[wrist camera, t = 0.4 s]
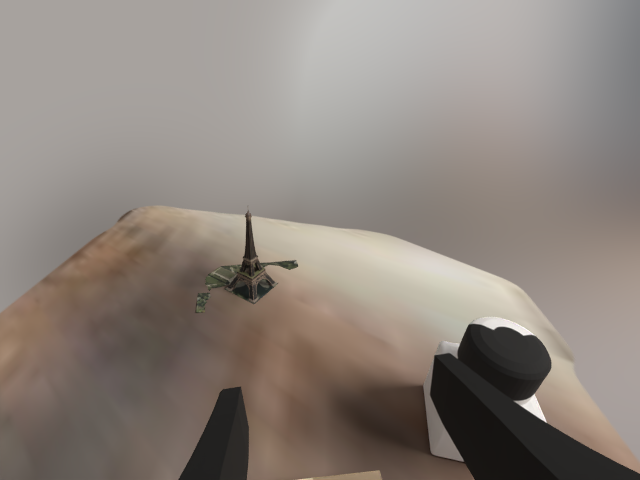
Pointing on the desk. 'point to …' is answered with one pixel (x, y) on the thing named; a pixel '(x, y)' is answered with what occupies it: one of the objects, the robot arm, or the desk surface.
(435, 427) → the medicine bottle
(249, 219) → the eiffel tower figurine
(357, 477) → the bore block
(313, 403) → the desk surface
